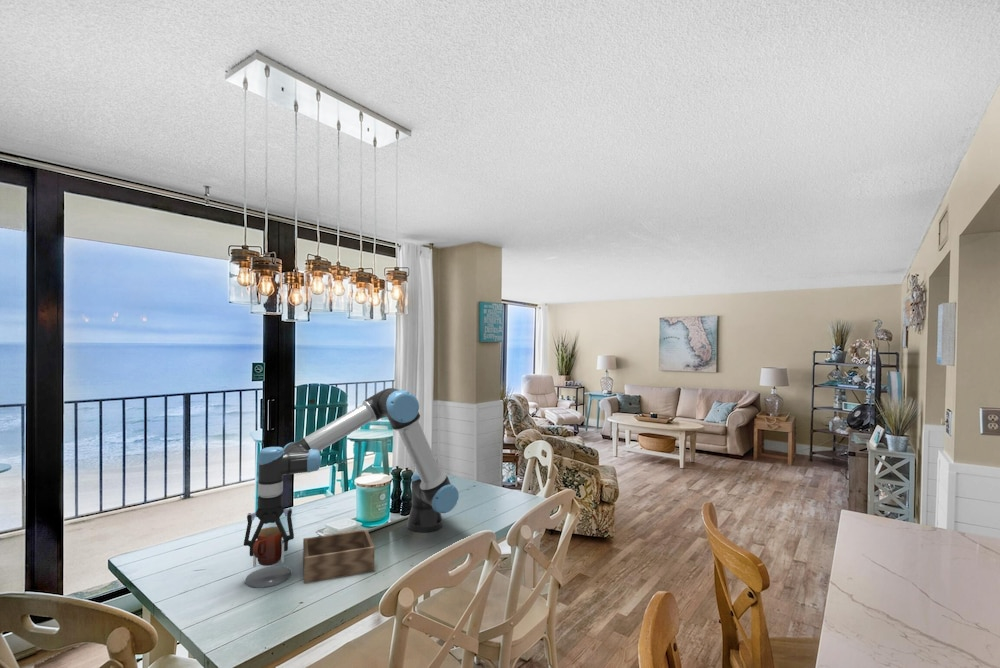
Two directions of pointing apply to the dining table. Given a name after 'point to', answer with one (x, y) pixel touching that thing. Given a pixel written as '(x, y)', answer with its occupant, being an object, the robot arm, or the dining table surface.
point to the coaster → (268, 576)
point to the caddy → (337, 555)
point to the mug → (268, 546)
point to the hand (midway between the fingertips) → (268, 562)
